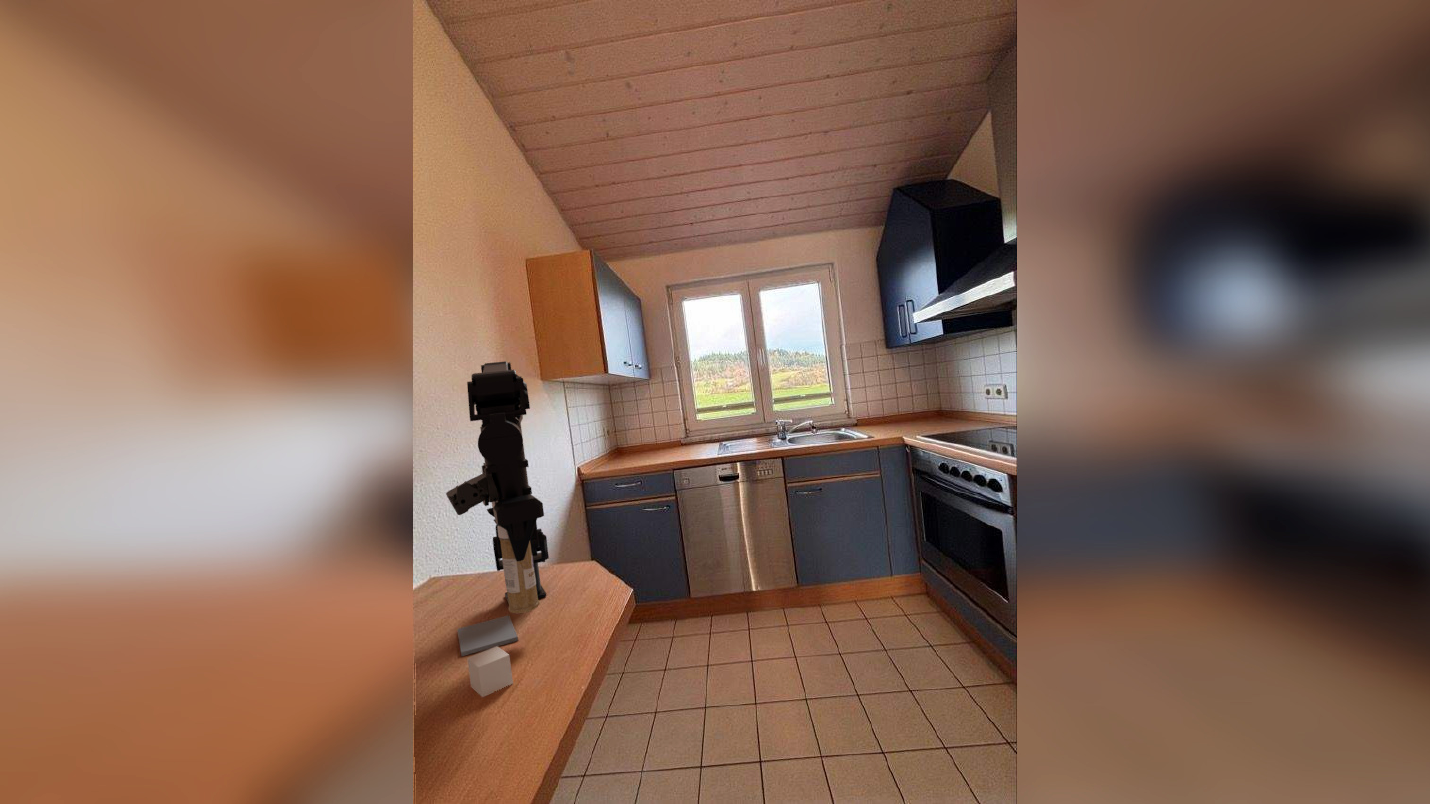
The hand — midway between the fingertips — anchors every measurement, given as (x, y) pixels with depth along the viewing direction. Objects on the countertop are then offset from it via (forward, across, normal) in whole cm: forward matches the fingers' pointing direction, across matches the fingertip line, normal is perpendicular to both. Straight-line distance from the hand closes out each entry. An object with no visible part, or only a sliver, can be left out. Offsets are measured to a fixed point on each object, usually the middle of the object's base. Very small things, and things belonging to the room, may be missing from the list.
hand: (517, 556), depth 92 cm
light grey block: (+13, +12, -7) cm, 19 cm away
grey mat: (+13, -5, -5) cm, 15 cm away
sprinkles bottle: (+8, 0, 0) cm, 8 cm away
